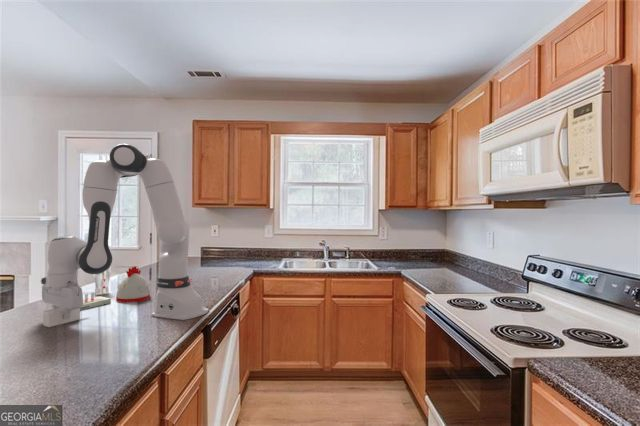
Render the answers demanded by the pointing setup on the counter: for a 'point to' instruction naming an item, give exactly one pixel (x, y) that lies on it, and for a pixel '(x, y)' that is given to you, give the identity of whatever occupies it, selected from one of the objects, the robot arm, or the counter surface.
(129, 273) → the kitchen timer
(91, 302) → the green peg board
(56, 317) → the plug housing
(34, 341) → the counter surface
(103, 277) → the beer glass
